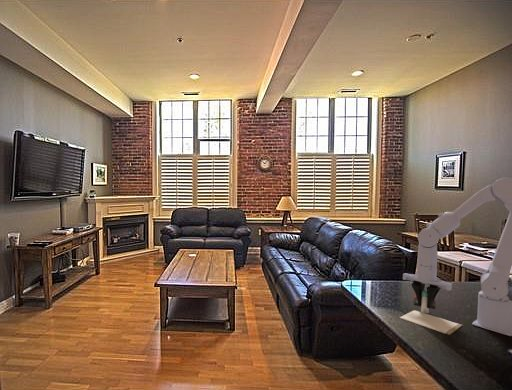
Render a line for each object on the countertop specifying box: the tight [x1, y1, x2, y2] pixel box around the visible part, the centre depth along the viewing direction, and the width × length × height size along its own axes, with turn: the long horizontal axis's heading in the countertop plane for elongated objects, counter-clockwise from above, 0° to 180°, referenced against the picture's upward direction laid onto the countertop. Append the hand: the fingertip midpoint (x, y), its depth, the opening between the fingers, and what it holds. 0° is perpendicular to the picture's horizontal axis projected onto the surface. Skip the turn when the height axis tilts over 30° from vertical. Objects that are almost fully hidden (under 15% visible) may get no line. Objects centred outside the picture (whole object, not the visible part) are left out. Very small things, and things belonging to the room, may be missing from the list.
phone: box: [413, 293, 436, 309], centre depth 118 cm, size 6×1×15 cm
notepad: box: [399, 309, 463, 336], centre depth 98 cm, size 14×10×1 cm
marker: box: [420, 289, 430, 314], centre depth 106 cm, size 2×2×7 cm
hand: (425, 306), depth 106 cm, fingers closed on marker, 2 cm apart
